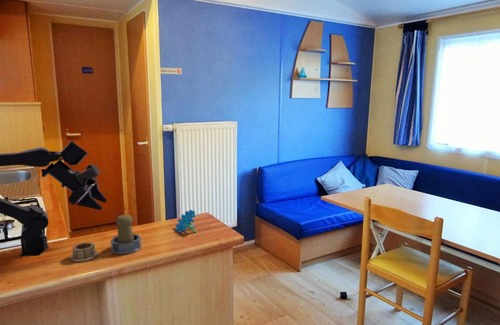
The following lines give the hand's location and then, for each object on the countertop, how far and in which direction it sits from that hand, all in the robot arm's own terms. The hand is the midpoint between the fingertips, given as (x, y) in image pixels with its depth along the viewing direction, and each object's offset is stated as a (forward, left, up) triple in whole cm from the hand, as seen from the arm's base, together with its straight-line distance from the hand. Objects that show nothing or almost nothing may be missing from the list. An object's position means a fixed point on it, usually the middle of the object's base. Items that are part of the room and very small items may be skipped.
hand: (103, 205), depth 122 cm
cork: (+8, -6, -13) cm, 17 cm away
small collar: (-4, -12, -14) cm, 18 cm away
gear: (+28, +9, -14) cm, 32 cm away
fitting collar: (+8, -7, -14) cm, 17 cm away
